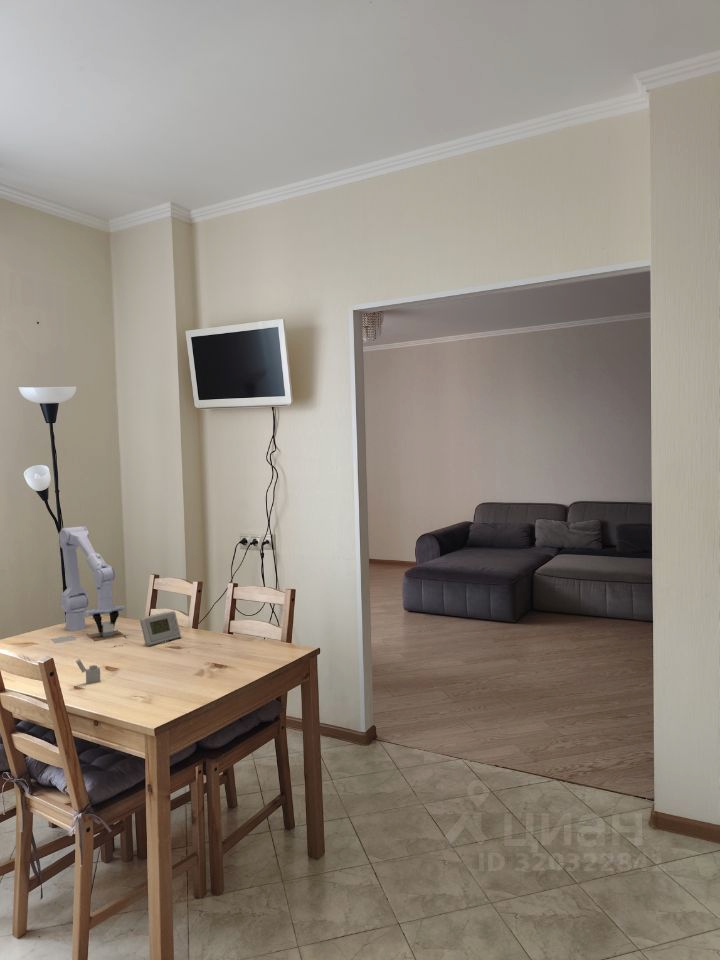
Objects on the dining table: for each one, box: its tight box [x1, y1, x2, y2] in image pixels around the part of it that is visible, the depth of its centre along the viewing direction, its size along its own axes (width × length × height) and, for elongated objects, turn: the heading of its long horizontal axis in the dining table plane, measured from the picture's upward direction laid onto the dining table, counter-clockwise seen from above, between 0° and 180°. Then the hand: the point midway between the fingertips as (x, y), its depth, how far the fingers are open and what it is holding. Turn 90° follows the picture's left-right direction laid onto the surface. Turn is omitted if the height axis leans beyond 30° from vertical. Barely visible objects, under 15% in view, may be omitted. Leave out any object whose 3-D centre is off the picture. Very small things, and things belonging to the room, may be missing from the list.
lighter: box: [75, 658, 101, 684], centre depth 222 cm, size 7×2×8 cm, turn 121°
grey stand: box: [50, 635, 77, 644], centre depth 270 cm, size 8×8×2 cm
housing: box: [98, 620, 115, 638], centre depth 274 cm, size 4×6×5 cm, turn 35°
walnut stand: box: [87, 629, 127, 642], centre depth 275 cm, size 12×12×2 cm
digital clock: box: [139, 610, 182, 647], centre depth 270 cm, size 16×9×11 cm, turn 130°
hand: (106, 631), depth 275 cm, fingers open, 4 cm apart
